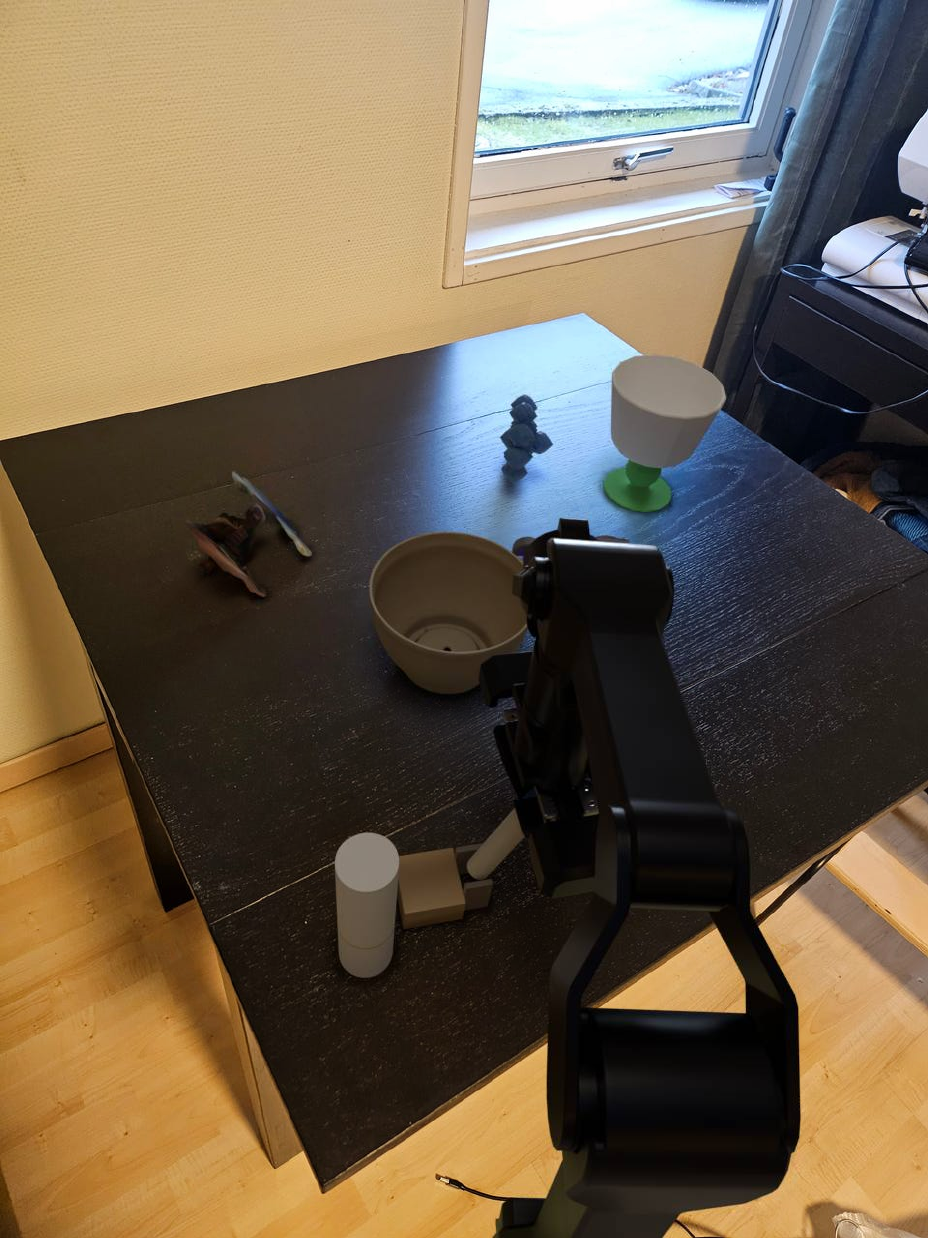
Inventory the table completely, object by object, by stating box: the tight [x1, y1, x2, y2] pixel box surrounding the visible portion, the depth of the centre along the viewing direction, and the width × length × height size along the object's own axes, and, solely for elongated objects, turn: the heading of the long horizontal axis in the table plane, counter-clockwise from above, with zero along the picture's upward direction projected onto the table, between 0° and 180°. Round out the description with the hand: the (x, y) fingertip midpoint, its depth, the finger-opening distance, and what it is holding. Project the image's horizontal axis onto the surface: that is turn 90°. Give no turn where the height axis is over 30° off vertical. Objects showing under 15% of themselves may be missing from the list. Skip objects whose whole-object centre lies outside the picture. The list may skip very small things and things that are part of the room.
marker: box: [467, 788, 537, 881], centre depth 67 cm, size 2×10×2 cm
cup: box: [603, 353, 727, 513], centre depth 107 cm, size 14×14×16 cm
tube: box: [334, 832, 400, 979], centre depth 63 cm, size 4×4×15 cm
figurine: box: [184, 471, 313, 598], centre depth 95 cm, size 15×9×13 cm
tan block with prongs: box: [397, 842, 494, 930], centre depth 71 cm, size 5×7×4 cm
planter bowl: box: [368, 531, 529, 695], centre depth 86 cm, size 16×16×11 cm
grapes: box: [499, 394, 554, 484], centre depth 107 cm, size 12×7×12 cm, turn 174°
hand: (533, 822), depth 66 cm, fingers closed on marker, 2 cm apart
